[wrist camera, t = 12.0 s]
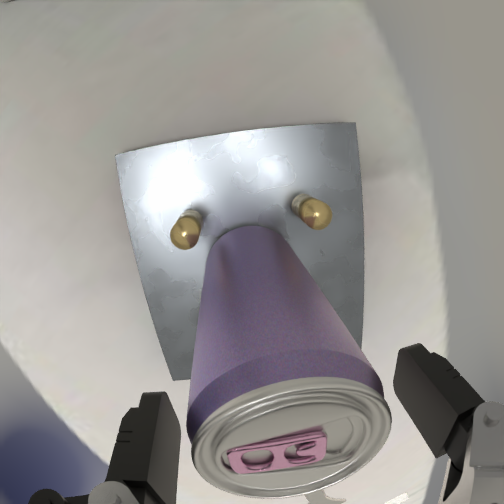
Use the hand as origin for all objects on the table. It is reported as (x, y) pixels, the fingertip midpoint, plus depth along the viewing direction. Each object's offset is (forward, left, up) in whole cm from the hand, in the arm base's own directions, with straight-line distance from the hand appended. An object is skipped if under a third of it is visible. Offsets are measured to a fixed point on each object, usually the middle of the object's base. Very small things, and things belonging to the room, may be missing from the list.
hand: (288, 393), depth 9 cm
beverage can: (0, 0, -13) cm, 13 cm away
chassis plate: (0, 0, -14) cm, 14 cm away
